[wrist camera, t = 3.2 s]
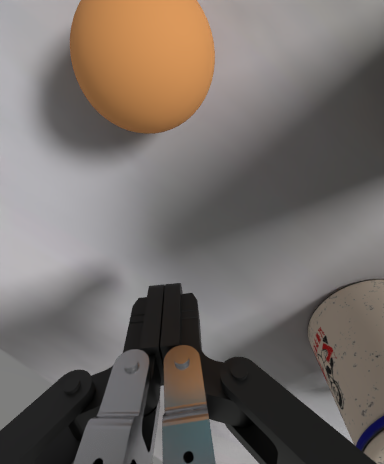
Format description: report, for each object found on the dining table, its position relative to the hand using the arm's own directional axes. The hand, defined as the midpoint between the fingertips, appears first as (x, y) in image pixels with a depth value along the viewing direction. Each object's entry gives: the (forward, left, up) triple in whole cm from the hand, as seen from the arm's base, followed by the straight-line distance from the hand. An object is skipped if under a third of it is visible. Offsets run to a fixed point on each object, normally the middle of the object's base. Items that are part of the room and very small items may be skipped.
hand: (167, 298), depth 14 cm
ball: (0, -10, -3) cm, 10 cm away
